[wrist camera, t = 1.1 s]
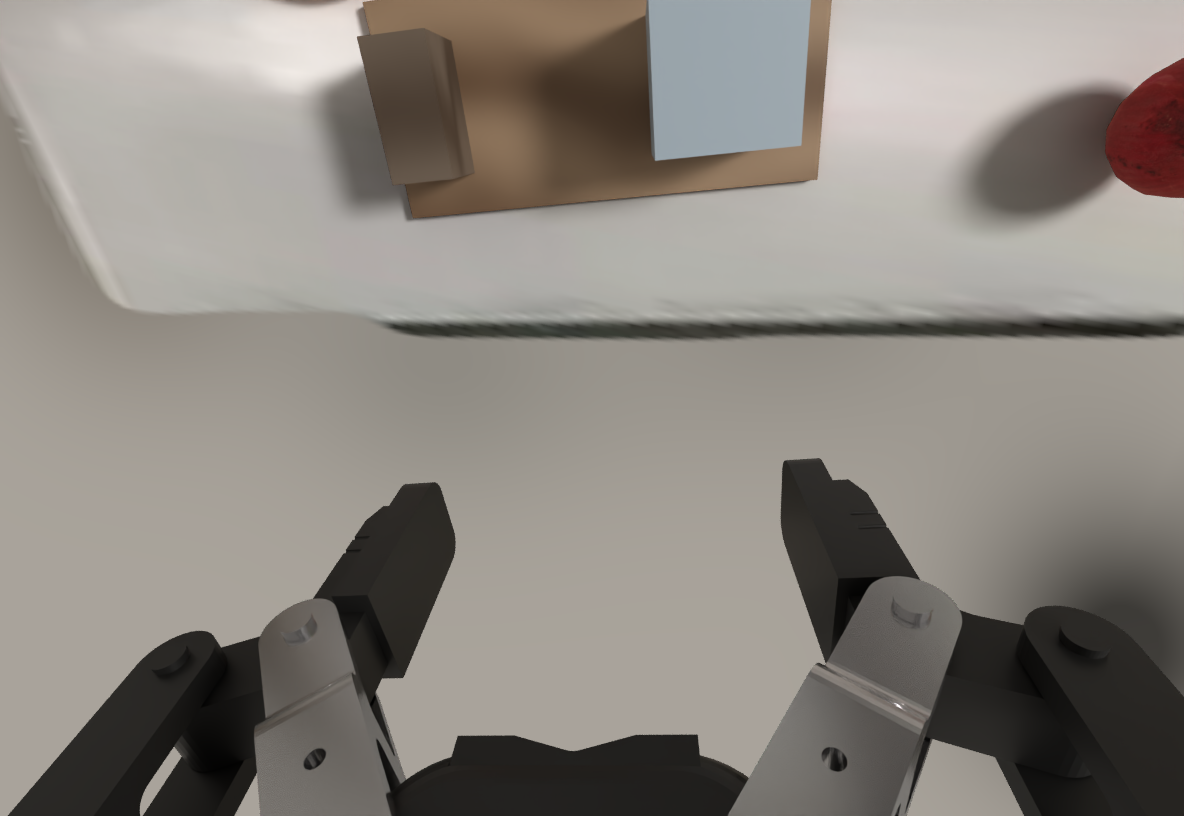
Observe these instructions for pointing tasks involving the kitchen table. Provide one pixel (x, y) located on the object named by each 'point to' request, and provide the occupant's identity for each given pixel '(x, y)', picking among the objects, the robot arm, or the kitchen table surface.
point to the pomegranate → (1151, 135)
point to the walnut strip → (544, 106)
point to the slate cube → (725, 75)
